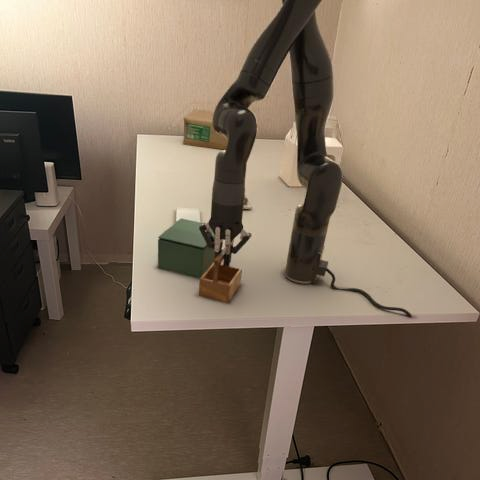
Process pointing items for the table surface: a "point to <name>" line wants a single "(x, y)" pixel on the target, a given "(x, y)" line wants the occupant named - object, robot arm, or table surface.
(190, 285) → the table surface
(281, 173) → the gable box
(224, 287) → the basket
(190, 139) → the paper package
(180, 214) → the hard drive
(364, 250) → the table surface
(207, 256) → the carton
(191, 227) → the flap
